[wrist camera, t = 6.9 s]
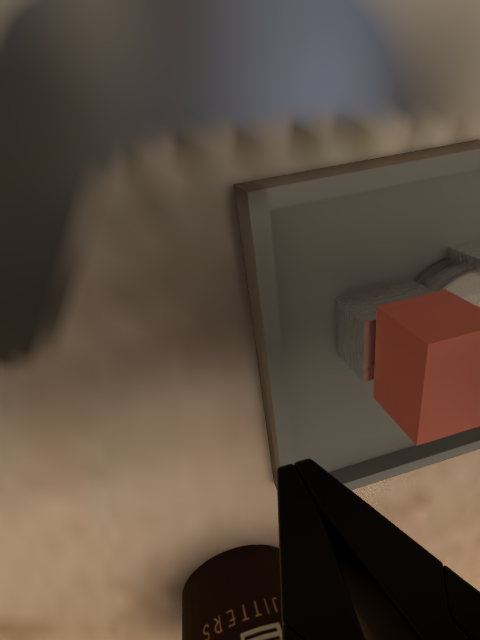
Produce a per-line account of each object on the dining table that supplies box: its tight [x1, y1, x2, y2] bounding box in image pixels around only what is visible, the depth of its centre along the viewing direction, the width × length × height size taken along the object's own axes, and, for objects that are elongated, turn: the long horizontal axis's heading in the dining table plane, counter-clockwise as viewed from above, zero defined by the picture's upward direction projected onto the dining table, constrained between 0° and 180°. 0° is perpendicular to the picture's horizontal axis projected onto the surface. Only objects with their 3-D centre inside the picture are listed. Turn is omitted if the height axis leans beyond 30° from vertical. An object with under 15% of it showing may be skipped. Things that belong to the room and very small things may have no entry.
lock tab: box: [373, 290, 480, 446], centre depth 12 cm, size 2×4×2 cm, turn 8°
